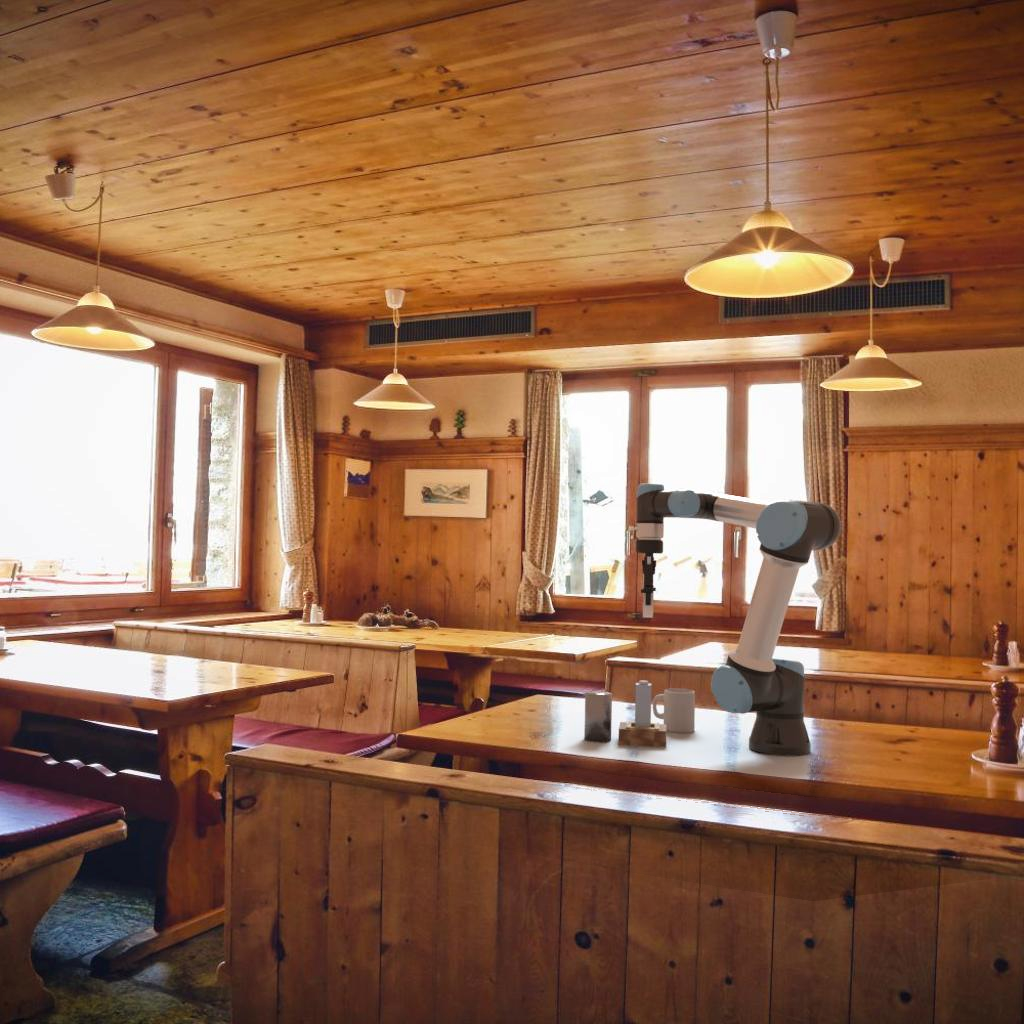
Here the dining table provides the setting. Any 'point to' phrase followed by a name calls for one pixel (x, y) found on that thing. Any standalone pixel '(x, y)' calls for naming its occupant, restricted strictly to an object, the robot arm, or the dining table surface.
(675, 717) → the mug
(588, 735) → the grey storage canister
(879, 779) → the dining table surface
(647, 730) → the socket block
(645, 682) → the square bit
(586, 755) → the dining table surface
